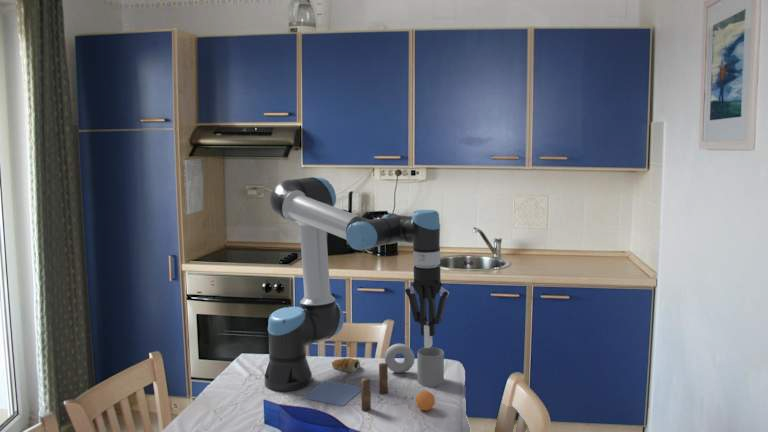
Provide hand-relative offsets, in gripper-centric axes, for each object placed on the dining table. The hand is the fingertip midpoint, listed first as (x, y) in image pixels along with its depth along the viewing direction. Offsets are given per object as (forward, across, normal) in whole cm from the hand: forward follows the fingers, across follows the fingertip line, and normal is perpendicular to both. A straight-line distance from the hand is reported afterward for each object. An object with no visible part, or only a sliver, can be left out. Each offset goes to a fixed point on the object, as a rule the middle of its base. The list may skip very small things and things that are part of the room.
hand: (428, 346), depth 189 cm
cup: (+19, -7, +20) cm, 29 cm away
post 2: (+19, -18, +7) cm, 27 cm away
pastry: (+19, -37, +20) cm, 46 cm away
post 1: (+19, -18, -6) cm, 27 cm away
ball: (+17, -2, 0) cm, 17 cm away
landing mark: (+19, -32, 0) cm, 37 cm away
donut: (+19, -19, +23) cm, 36 cm away
